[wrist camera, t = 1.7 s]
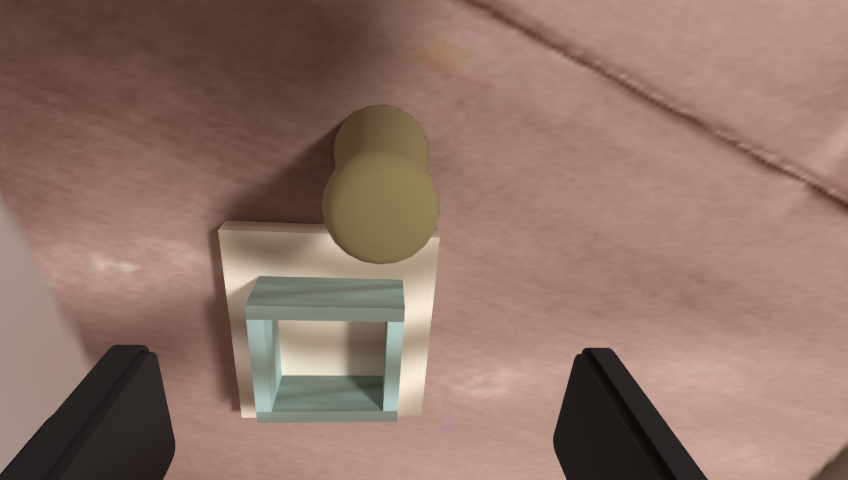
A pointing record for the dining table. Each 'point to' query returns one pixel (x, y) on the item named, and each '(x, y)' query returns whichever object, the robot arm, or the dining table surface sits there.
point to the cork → (380, 187)
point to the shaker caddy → (325, 325)
